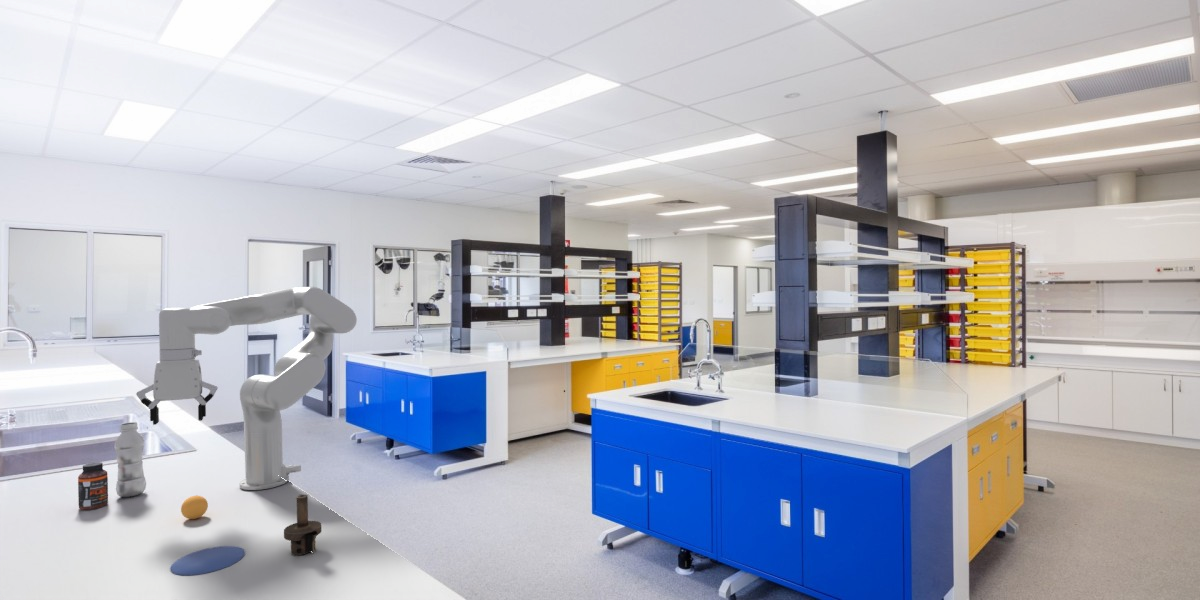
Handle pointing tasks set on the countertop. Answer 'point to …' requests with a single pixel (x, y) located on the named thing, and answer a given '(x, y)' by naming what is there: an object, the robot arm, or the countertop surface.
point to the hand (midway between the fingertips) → (178, 421)
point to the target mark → (207, 560)
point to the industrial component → (302, 529)
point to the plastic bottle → (130, 461)
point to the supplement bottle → (93, 486)
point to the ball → (194, 507)
